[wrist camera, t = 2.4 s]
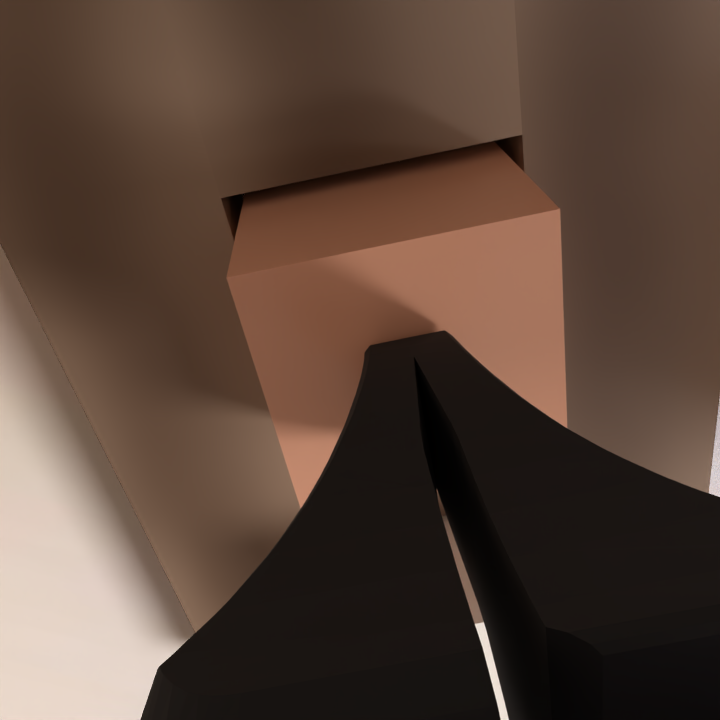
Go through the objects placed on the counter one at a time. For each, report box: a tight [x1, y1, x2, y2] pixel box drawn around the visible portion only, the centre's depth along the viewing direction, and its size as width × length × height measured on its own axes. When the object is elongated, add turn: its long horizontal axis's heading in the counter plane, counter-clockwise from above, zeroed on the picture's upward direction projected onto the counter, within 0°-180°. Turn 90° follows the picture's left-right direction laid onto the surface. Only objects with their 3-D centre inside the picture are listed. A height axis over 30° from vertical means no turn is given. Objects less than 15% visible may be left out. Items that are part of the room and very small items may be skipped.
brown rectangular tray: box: [0, 0, 720, 633], centre depth 15 cm, size 14×26×2 cm, turn 11°
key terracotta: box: [226, 141, 567, 508], centre depth 13 cm, size 5×5×4 cm
